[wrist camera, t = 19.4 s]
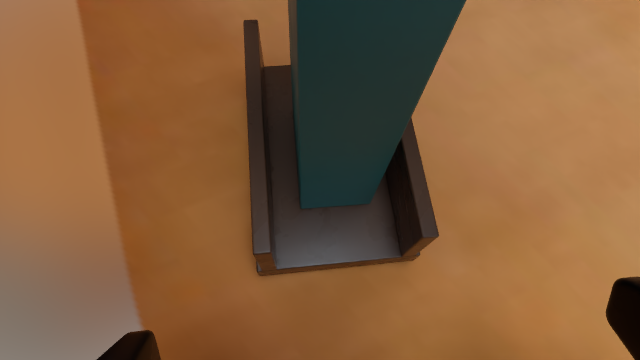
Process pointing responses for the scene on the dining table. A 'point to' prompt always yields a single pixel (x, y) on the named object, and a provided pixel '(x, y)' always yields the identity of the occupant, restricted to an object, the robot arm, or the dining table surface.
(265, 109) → the rack
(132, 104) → the dining table surface
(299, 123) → the teal rectangular block
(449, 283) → the dining table surface
